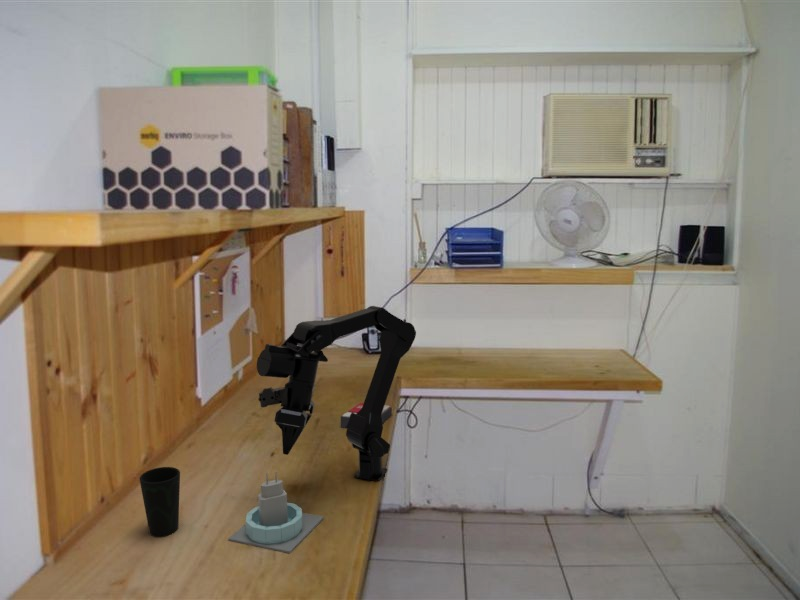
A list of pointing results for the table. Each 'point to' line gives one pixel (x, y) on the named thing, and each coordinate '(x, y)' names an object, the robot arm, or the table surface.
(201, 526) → the table surface
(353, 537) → the table surface
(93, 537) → the table surface
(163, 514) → the cup
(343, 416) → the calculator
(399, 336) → the robot arm
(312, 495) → the table surface
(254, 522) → the bowl
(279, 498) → the power adapter
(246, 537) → the mat
